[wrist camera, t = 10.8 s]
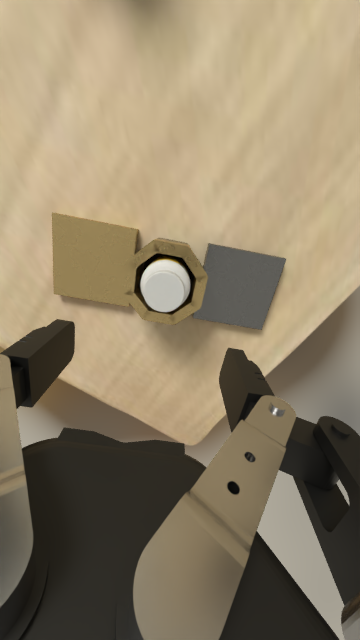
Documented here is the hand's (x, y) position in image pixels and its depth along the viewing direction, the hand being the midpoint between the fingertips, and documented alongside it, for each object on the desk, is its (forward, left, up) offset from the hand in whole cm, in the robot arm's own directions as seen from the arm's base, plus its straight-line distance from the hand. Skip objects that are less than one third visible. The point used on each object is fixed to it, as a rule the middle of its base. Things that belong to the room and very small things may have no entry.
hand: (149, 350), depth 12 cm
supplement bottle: (0, 0, -21) cm, 21 cm away
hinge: (0, 0, -20) cm, 20 cm away
